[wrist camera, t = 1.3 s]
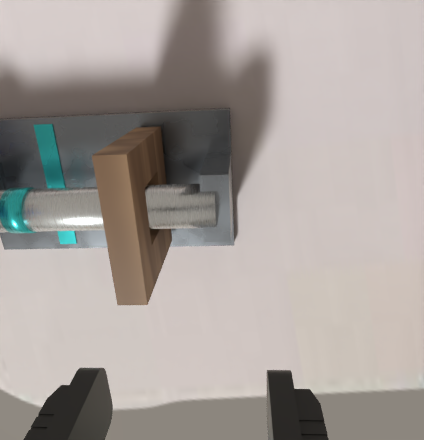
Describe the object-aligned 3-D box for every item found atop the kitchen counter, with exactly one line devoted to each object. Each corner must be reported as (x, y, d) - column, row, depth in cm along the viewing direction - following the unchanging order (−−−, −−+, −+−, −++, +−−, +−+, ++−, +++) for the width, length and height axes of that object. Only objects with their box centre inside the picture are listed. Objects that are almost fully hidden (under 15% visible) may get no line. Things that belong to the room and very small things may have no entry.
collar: (160, 126, 31) (126, 154, 22) (172, 239, 34) (147, 304, 25) (136, 127, 31) (91, 155, 22) (150, 240, 35) (117, 304, 25)
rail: (229, 108, 31) (226, 122, 24) (234, 241, 36) (232, 289, 28) (-27, 120, 33) (-105, 137, 26) (9, 245, 38) (-50, 292, 30)
